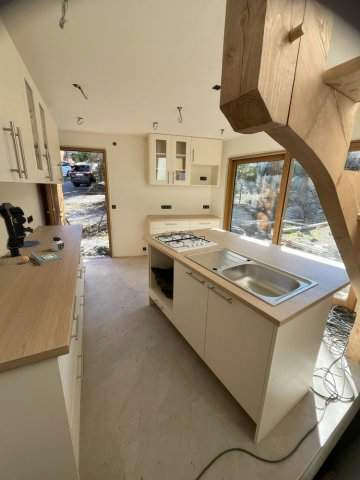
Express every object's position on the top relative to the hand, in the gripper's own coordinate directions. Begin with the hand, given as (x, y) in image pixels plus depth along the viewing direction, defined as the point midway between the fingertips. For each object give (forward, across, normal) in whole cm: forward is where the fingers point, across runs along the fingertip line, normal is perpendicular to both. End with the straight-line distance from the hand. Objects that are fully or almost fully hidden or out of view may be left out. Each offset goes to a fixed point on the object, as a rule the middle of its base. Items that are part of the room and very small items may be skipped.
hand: (22, 245), depth 150 cm
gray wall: (+14, +3, -7) cm, 15 cm away
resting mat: (+14, +5, -16) cm, 21 cm away
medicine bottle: (+11, +23, -25) cm, 36 cm away
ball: (+11, +2, 0) cm, 11 cm away
